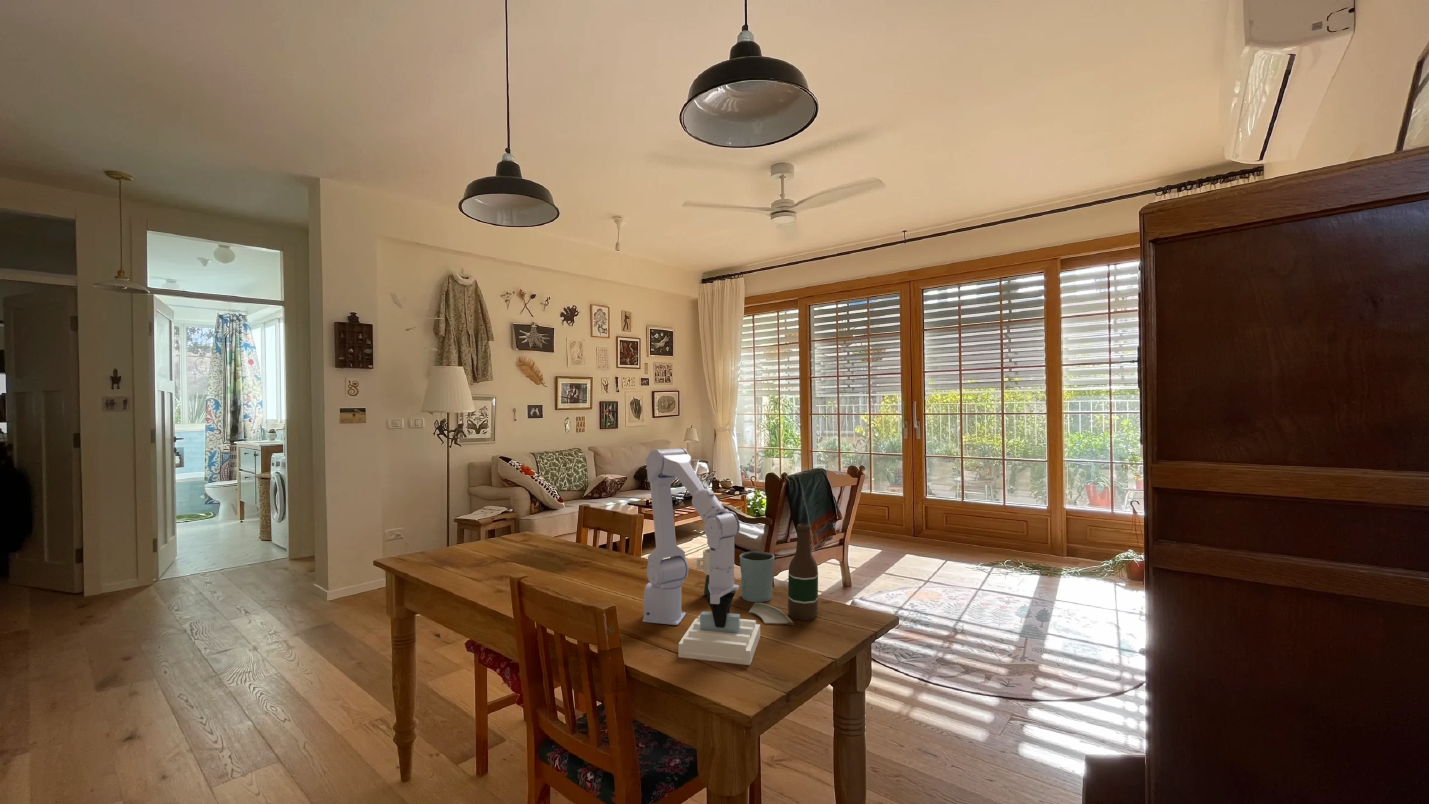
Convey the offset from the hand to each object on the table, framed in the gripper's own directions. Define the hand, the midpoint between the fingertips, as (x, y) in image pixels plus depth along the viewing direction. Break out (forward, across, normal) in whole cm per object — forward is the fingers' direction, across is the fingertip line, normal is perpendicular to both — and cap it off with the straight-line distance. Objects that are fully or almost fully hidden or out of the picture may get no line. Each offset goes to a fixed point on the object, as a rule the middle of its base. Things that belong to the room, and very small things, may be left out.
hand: (721, 624), depth 131 cm
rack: (+5, 0, 0) cm, 5 cm away
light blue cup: (+5, +35, -3) cm, 36 cm away
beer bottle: (+5, +24, -17) cm, 30 cm away
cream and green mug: (+5, +33, +9) cm, 35 cm away
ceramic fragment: (+6, +20, -9) cm, 22 cm away
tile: (+4, 0, 0) cm, 4 cm away
